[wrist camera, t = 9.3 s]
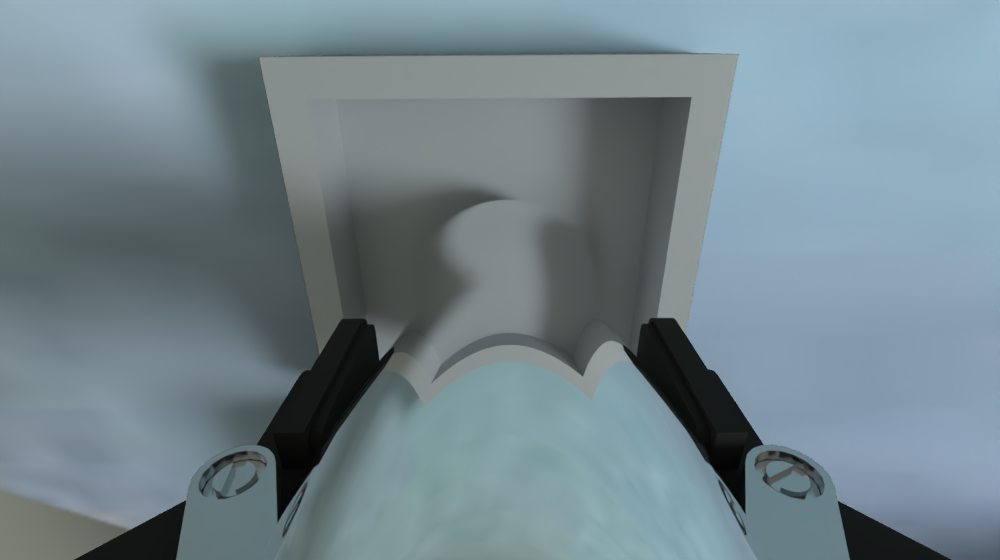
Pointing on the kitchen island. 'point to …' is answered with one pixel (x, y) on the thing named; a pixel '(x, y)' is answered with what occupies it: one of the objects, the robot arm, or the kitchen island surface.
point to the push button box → (497, 168)
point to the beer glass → (511, 423)
